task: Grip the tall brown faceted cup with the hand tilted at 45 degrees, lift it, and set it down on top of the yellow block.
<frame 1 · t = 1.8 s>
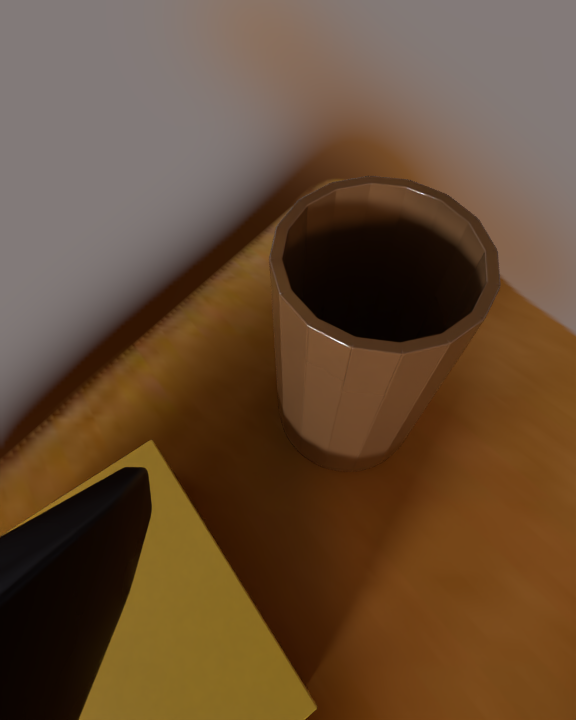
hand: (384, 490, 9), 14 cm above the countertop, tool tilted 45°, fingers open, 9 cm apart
yellow block: (131, 645, 19), on the countertop
brown faceted cup: (343, 408, 24), on the countertop
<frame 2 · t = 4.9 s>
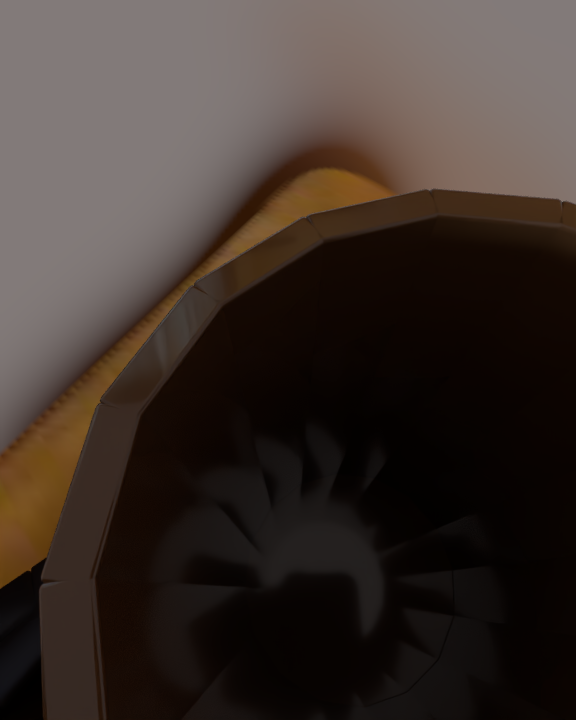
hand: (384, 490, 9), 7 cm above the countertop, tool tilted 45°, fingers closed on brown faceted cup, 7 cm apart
brown faceted cup: (347, 579, 14), on the countertop, touching gripper
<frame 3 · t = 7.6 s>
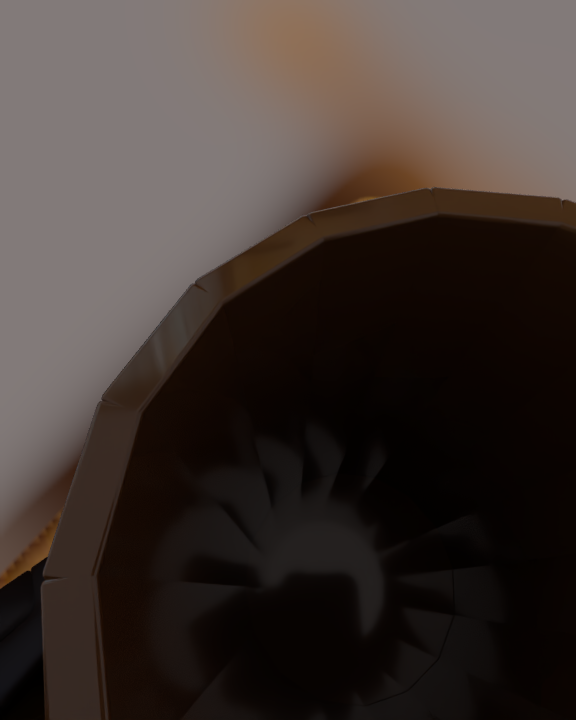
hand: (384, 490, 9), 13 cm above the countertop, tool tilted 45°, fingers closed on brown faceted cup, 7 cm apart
brown faceted cup: (347, 578, 14), point 7 cm above the countertop, touching gripper
when the fingers open (11 cm above the countertop, at t = 10.2 s): brown faceted cup stays where it is, resting on yellow block.
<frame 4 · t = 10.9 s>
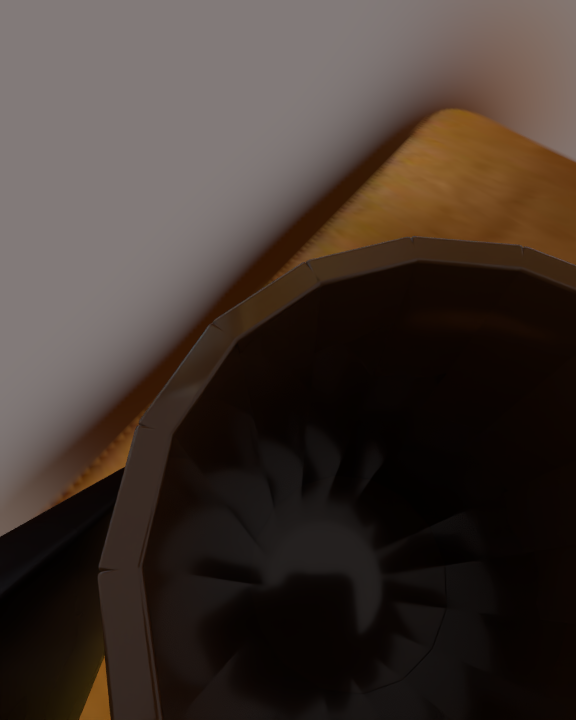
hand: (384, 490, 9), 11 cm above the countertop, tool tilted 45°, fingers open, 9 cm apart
brown faceted cup: (346, 575, 15), point 4 cm above the countertop, touching yellow block
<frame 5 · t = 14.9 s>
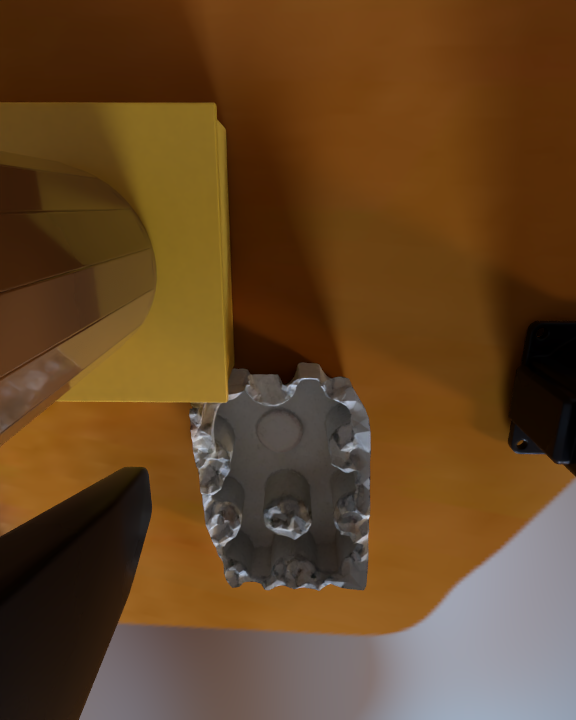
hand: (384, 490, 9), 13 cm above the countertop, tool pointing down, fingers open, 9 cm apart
grey knobbed block: (287, 456, 23), on the countertop
yellow block: (104, 255, 20), on the countertop
brown faceted cup: (61, 266, 16), point 4 cm above the countertop, touching yellow block
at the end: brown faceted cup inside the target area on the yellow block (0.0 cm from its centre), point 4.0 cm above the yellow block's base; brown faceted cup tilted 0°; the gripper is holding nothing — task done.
